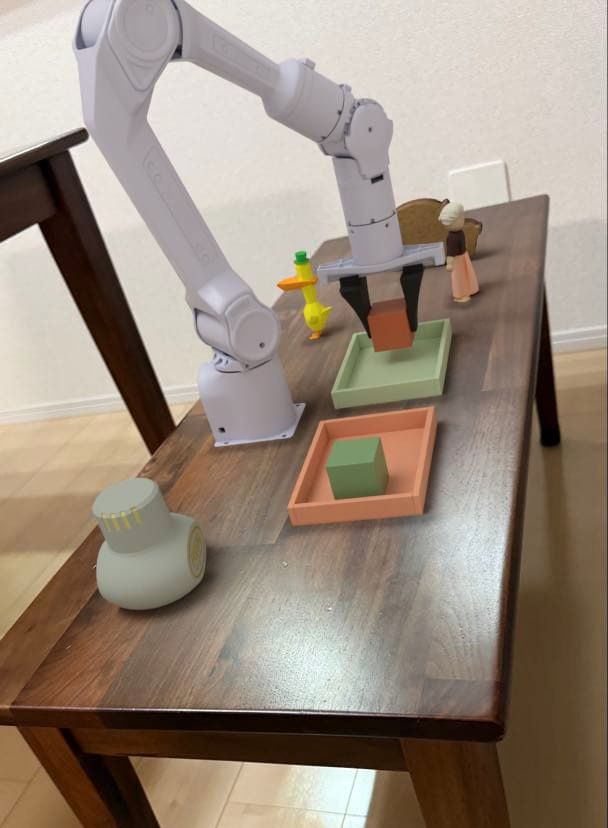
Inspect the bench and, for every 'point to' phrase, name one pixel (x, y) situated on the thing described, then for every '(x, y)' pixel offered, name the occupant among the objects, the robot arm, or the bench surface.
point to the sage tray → (394, 368)
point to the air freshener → (145, 547)
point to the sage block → (357, 468)
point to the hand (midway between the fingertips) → (393, 331)
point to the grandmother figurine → (458, 253)
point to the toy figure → (307, 293)
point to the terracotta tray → (405, 457)
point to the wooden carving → (432, 225)
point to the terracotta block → (390, 325)
